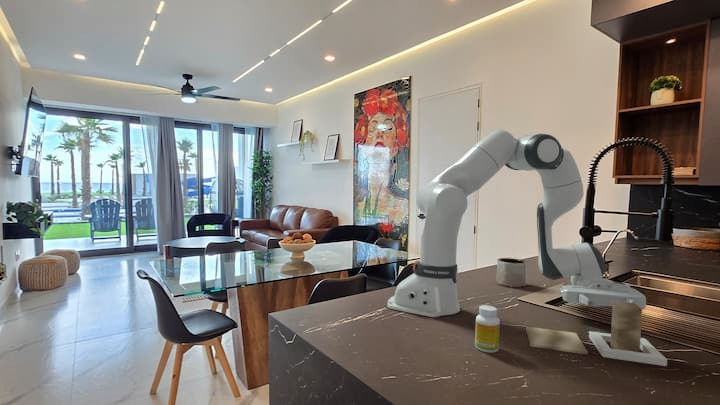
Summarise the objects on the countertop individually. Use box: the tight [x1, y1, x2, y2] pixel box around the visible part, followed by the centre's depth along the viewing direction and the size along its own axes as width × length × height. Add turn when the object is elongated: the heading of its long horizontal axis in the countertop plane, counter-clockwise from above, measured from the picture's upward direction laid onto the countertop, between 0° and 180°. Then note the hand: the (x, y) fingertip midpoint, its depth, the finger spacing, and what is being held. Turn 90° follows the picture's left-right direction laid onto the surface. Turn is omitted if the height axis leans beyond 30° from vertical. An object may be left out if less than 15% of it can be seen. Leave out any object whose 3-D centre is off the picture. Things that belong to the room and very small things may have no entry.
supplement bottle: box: [474, 304, 501, 354], centre depth 87 cm, size 5×5×10 cm
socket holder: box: [588, 330, 668, 367], centre depth 87 cm, size 12×12×2 cm
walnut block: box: [610, 301, 643, 352], centre depth 87 cm, size 4×4×11 cm
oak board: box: [525, 326, 589, 355], centre depth 92 cm, size 12×12×1 cm
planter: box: [495, 257, 527, 288], centre depth 146 cm, size 11×11×10 cm
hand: (609, 304), depth 100 cm, fingers open, 8 cm apart
